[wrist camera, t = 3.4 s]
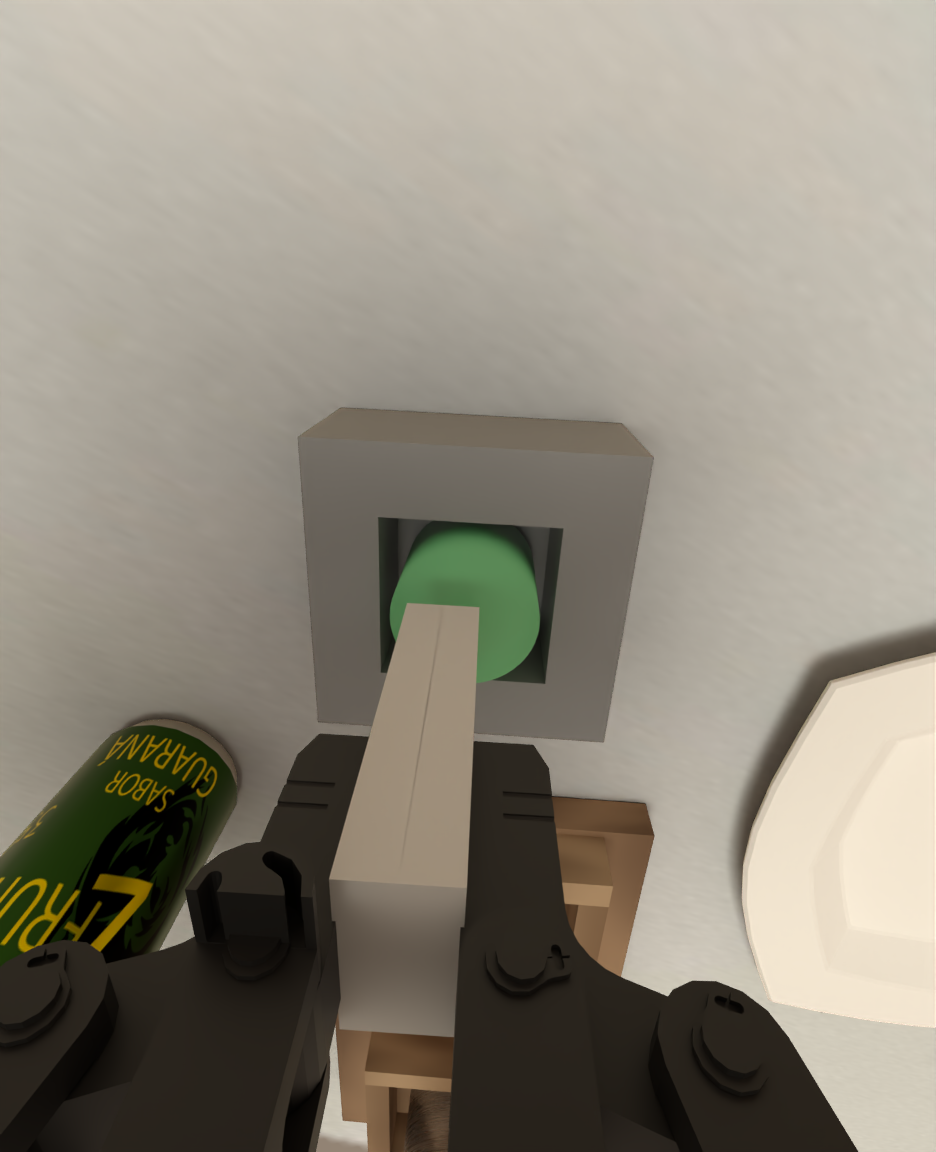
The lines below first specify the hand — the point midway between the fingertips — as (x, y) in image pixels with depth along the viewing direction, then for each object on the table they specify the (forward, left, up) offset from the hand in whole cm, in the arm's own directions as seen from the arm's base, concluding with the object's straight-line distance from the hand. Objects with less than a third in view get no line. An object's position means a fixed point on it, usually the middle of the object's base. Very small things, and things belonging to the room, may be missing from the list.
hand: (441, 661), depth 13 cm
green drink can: (-11, -10, -7) cm, 16 cm away
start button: (0, 0, -5) cm, 5 cm away
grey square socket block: (0, 0, -7) cm, 7 cm away
